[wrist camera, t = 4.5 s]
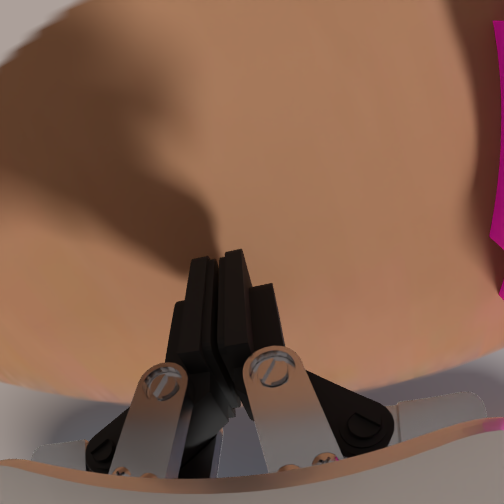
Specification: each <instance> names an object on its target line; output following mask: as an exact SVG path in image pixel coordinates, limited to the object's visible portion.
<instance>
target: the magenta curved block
mask: <svg viewBox="0 0 504 504" xmlns="http://www.w3.org/2000/svg"><path fill="white" fill-rule="evenodd" d="M493 26H494V31H495V38H496V44H497V52H498V61H499V71H500V85H501V150H500V164H499V175H498V184H497V192H496V200H495V206H494V213H493V219H492V224H491V229H490V235H489V237H490V238H491V239H492V240H494V241H495V242H496V243H497V244H498V245H499V246H500V247H501V248H502V249H503V250H504V21H493ZM499 295H500V297H501V298H502V299H503V300H504V280H503V283H502V286H501V289H500V292H499Z"/></svg>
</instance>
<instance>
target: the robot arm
mask: <svg viewBox="0 0 504 504" xmlns="http://www.w3.org/2000/svg"><path fill="white" fill-rule="evenodd" d="M241 402H242V404H243V406H244V408H245V410H246V411H247V414H248V416H249V417H250V419H251V420H253V421H254V422H255V425H256V429H257V432H258V436H259V439H260V443H261V447H262V451H263V454H264V458H265V461H266V465H267V468H268V472H269V473H268V474H260V475H251V476H240V477H227V478H217V474H218V467H219V460H220V454H221V447H222V440H223V427H224V426H225V425H226V424H227V423H228V422H229V418H231V417H236V414H235V408H237V407H240V406H241ZM0 504H504V417H494V418H487V414H486V409H485V406H484V404H483V401H482V400H481V399H480V398H479V397H478V396H477V395H476V394H473V393H471V392H458V393H453V394H448V395H442V396H436V397H430V398H423V399H417V400H409V401H401V402H398V404H397V405H392V406H383V405H381V404H380V403H378V402H375V401H373V400H371V399H369V398H366V397H364V396H362V395H359V394H357V393H355V392H352V391H350V390H348V389H346V388H343V387H341V386H339V385H337V384H335V383H332V382H330V381H328V380H326V379H324V378H322V377H320V376H317V375H315V374H313V373H311V372H309V371H307V370H305V368H304V366H303V363H302V361H301V359H300V357H299V356H298V355H297V353H296V352H294V351H293V350H291V349H290V348H287V347H285V343H284V338H283V333H282V327H281V322H280V317H279V312H278V307H277V302H276V298H275V293H274V289H273V284H272V283H270V284H265V285H260V286H255V287H252V284H251V280H250V277H249V273H248V269H247V265H246V262H245V258H244V254H243V251H242V249H238V250H234V251H229V252H225V257H222V258H220V260H219V267H218V264H217V261H216V259H213V260H210V258H209V256H206V257H201V258H196V259H192V261H191V265H190V271H189V277H188V283H187V289H186V296H185V300H184V301H178V302H176V304H175V307H174V312H173V318H172V323H171V329H170V335H169V341H168V347H167V353H166V359H165V363H160V364H157V365H155V366H153V367H151V368H150V369H148V370H147V371H146V372H145V373H144V374H143V375H142V377H141V379H140V380H139V382H138V385H137V388H136V391H135V394H134V397H133V399H132V402H131V405H130V407H129V408H128V409H127V410H125V411H124V412H123V413H122V414H121V415H119V416H118V417H117V418H116V419H115V420H113V421H112V422H111V423H110V424H108V425H107V426H106V427H105V428H104V429H102V430H101V431H100V432H99V433H98V434H96V435H95V436H94V437H93V438H92V439H91V440H90V441H89V442H88V441H87V440H85V439H84V440H78V441H71V442H64V443H56V444H48V445H43V446H40V447H38V448H37V449H36V450H35V451H34V453H33V455H32V457H31V461H29V460H23V459H6V460H0Z"/></svg>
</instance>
